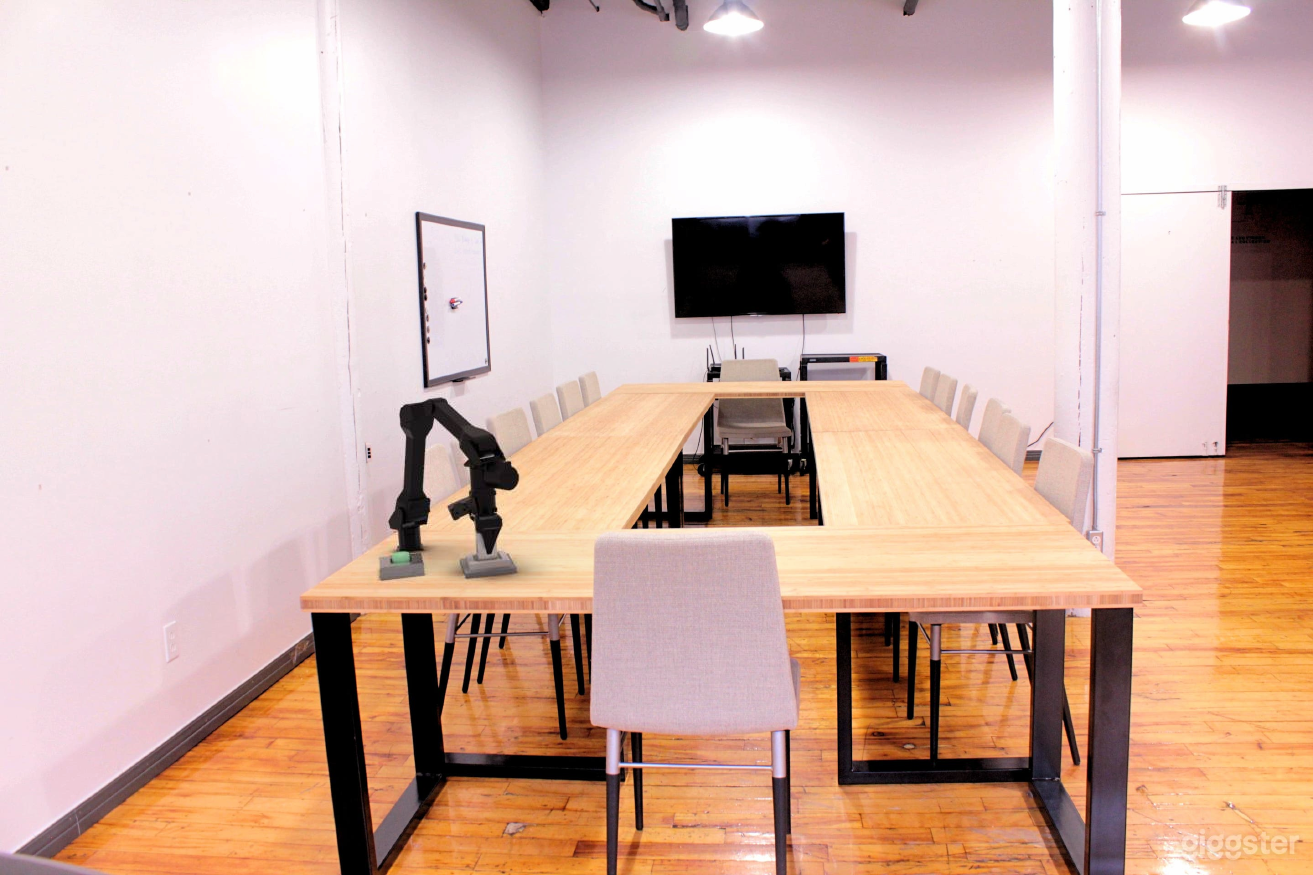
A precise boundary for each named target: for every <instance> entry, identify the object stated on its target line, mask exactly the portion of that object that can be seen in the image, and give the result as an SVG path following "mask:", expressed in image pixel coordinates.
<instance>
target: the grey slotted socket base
mask: <svg viewBox="0 0 1313 875" xmlns="http://www.w3.org/2000/svg"><path fill="white" fill-rule="evenodd" d="M497 557H498V560H489V561H480V562H477V553H466V554H465V557H464V558H459V565H460V567H461V569H462V571H463V572H462V573H463V575H464V579H474V578H483V577H491V576H498V575H508V574H510V575H511V574H516V573H518V567H517V566H516V564H515V563H514V561H513V559H512V557H511V556H510V553H507V552H506V551H505V550H504V549H503V550H497Z"/></svg>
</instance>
